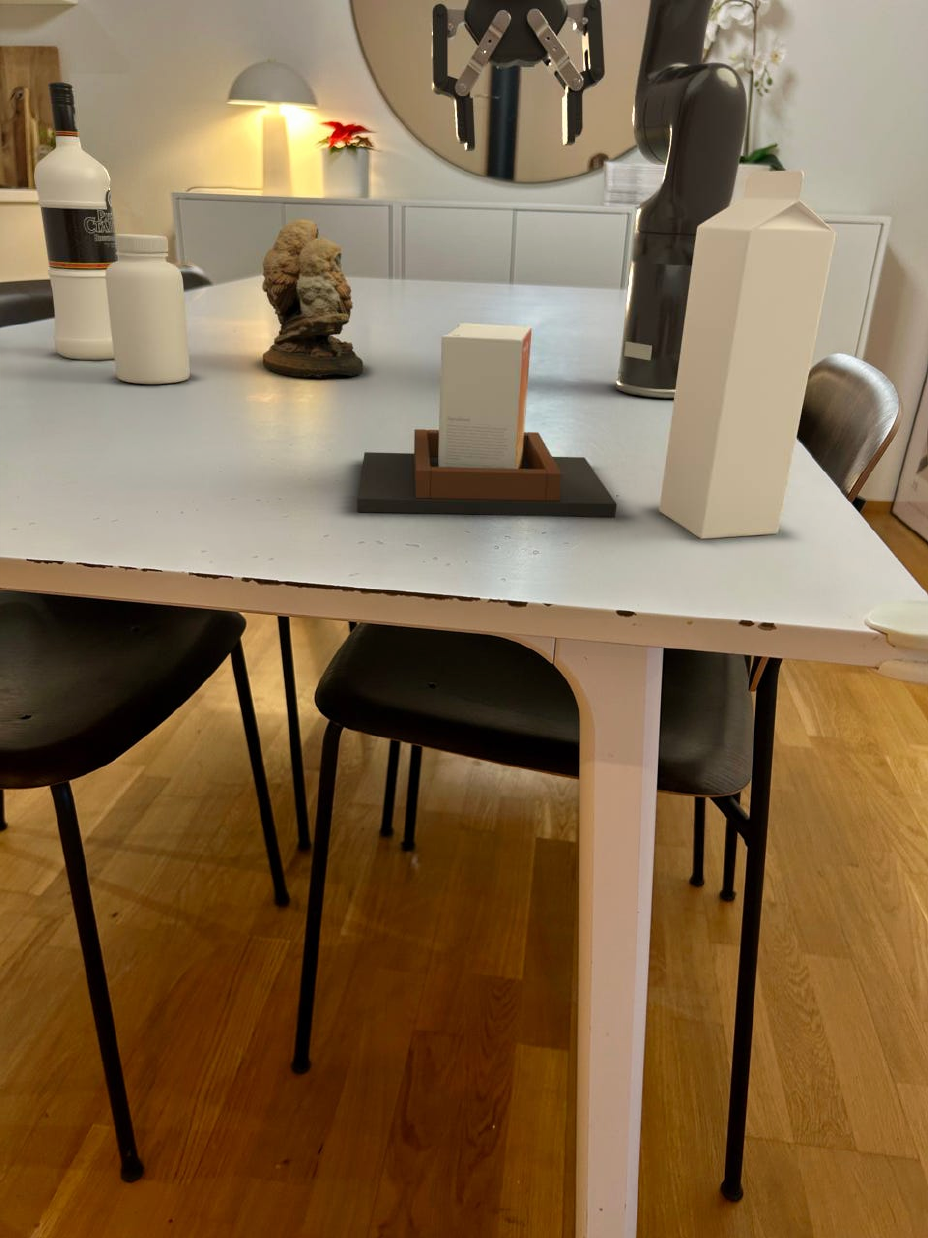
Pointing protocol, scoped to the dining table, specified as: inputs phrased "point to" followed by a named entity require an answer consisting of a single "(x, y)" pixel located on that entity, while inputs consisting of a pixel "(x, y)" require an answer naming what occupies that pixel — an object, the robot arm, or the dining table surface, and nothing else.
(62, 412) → the dining table surface
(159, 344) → the pill bottle
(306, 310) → the owl figurine
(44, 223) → the vodka
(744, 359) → the milk
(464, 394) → the small box
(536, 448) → the dock pad
